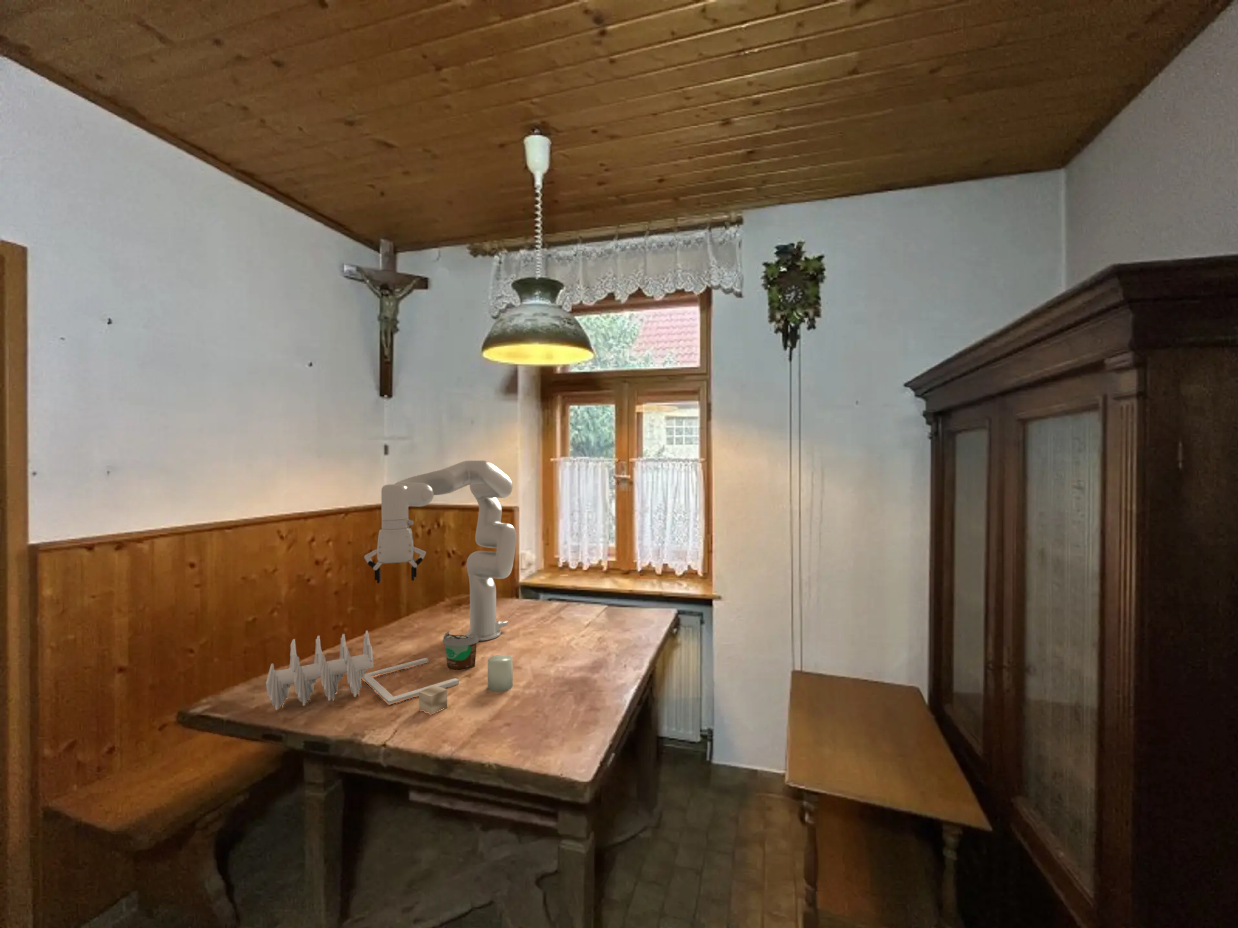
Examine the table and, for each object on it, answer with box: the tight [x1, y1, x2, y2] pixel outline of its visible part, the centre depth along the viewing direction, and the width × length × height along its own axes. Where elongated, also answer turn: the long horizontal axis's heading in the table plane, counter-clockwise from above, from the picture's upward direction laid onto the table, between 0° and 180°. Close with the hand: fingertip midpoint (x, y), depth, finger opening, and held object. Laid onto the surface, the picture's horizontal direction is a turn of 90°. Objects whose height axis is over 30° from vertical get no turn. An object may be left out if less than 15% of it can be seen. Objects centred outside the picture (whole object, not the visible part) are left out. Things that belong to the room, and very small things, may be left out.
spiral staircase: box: [265, 630, 374, 711], centre depth 146 cm, size 18×18×25 cm
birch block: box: [418, 684, 448, 714], centre depth 140 cm, size 5×5×5 cm
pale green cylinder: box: [487, 654, 514, 693], centre depth 154 cm, size 7×7×8 cm
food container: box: [442, 631, 479, 671], centre depth 168 cm, size 12×6×10 cm, turn 68°
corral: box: [361, 657, 460, 703], centre depth 158 cm, size 20×24×1 cm
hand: (396, 581), depth 161 cm, fingers open, 9 cm apart
